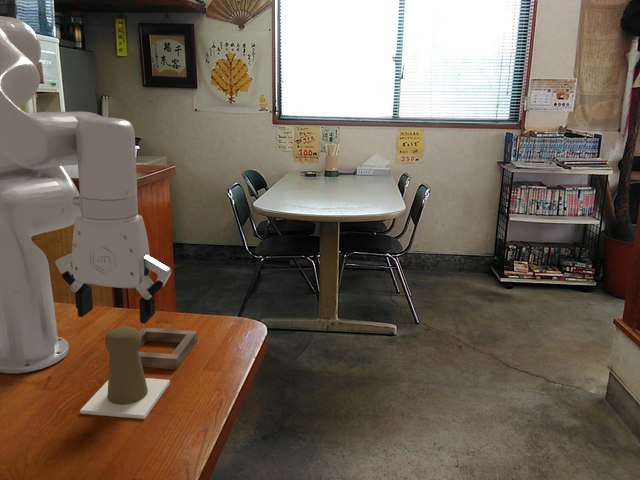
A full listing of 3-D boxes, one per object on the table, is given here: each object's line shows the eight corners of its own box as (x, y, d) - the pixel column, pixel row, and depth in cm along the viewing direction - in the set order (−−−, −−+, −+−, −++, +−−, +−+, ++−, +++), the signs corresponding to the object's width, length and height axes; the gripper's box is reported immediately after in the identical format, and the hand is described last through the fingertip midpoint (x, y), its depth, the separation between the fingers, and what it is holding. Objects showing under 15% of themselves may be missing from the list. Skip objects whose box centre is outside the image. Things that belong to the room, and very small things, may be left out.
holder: (116, 364, 93) (115, 354, 93) (143, 336, 104) (142, 327, 103) (177, 369, 92) (176, 358, 92) (197, 340, 103) (197, 331, 102)
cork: (134, 407, 80) (128, 341, 77) (99, 401, 81) (92, 336, 78) (155, 386, 86) (150, 324, 83) (121, 381, 87) (116, 319, 84)
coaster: (80, 413, 79) (80, 410, 79) (112, 378, 89) (112, 375, 89) (144, 418, 78) (144, 415, 78) (170, 383, 88) (170, 379, 88)
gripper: (35, 207, 72) (47, 321, 77) (158, 218, 71) (161, 333, 76) (66, 196, 79) (75, 300, 84) (178, 206, 78) (180, 311, 83)
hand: (116, 316), depth 80 cm, fingers open, 9 cm apart
